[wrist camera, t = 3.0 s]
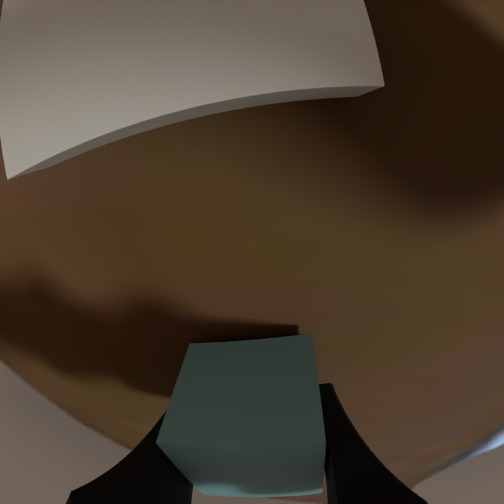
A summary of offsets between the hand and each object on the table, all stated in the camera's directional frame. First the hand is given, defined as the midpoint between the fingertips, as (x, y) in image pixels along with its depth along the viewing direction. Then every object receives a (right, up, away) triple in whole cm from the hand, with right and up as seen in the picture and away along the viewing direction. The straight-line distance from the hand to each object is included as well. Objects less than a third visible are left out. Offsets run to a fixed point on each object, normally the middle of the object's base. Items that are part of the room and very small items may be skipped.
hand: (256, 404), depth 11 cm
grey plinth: (-4, +16, -4) cm, 17 cm away
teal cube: (0, +1, +1) cm, 1 cm away
